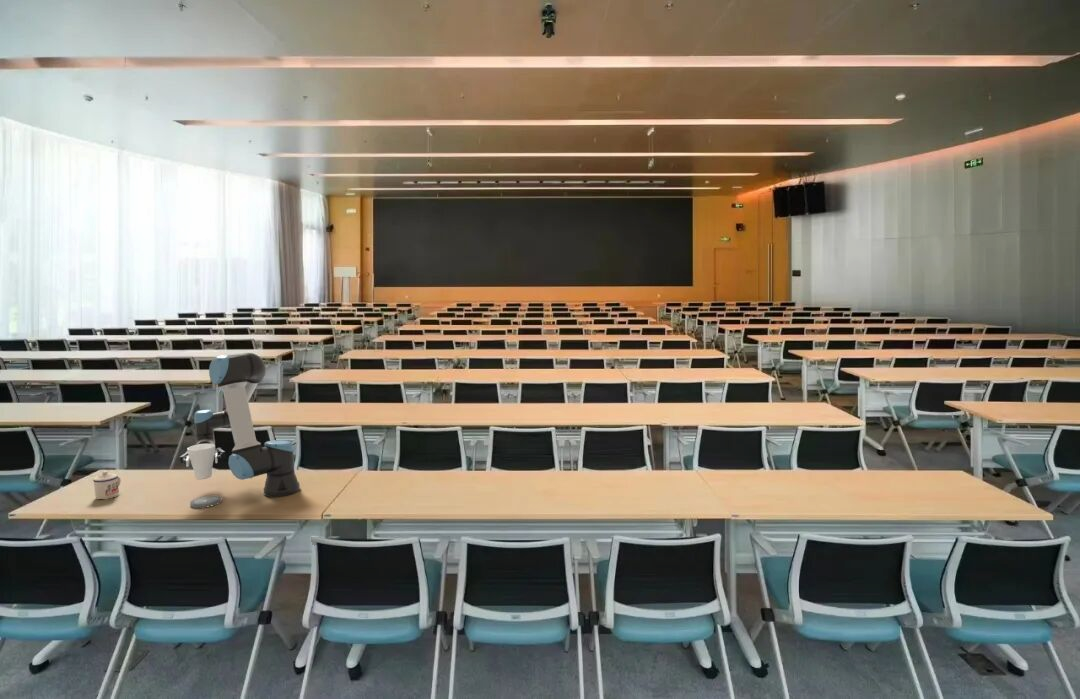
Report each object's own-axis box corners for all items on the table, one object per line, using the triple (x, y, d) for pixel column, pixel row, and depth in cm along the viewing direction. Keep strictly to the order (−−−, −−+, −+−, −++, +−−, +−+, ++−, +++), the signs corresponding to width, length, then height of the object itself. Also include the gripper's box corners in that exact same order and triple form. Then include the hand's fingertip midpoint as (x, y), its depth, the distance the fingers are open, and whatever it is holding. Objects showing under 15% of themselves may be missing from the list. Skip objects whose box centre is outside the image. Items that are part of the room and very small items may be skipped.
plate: (228, 499, 272) (227, 497, 271) (204, 509, 260) (204, 506, 260) (207, 496, 276) (207, 494, 276) (183, 506, 265) (183, 503, 264)
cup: (189, 476, 269) (187, 445, 267) (217, 472, 274) (214, 442, 272) (189, 482, 260) (187, 451, 258) (217, 478, 265) (215, 447, 263)
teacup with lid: (108, 500, 274) (105, 475, 272) (89, 499, 275) (87, 474, 274) (129, 491, 285) (127, 466, 284) (112, 490, 287) (109, 466, 285)
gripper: (232, 453, 287) (232, 466, 267) (176, 460, 278) (171, 474, 258) (231, 437, 286) (230, 449, 266) (175, 444, 277) (169, 456, 257)
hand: (201, 461), depth 262 cm, fingers closed on cup, 10 cm apart
